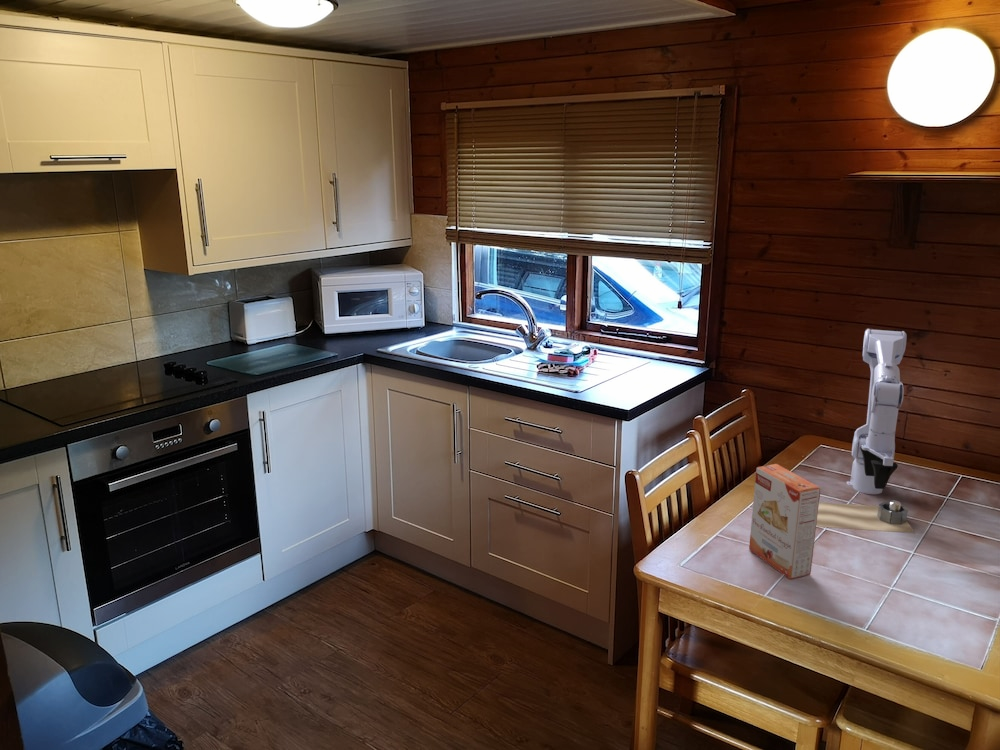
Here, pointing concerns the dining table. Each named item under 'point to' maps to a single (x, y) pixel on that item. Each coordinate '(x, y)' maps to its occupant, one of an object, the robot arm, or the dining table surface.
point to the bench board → (856, 518)
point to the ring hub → (892, 514)
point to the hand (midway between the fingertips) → (874, 481)
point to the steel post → (894, 506)
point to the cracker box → (784, 520)
